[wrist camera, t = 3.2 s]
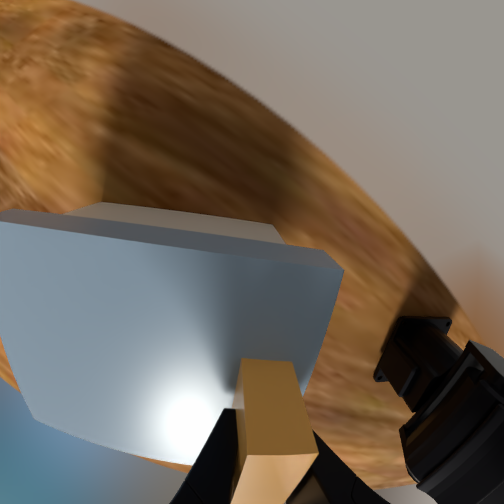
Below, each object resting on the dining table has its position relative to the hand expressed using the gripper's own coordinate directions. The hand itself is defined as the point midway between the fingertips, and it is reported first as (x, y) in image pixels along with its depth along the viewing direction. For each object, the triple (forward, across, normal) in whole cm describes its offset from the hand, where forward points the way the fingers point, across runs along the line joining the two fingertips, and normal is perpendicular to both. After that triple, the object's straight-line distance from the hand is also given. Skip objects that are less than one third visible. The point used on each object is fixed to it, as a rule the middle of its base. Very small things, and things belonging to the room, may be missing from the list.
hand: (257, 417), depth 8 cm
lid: (+3, +5, 0) cm, 5 cm away
